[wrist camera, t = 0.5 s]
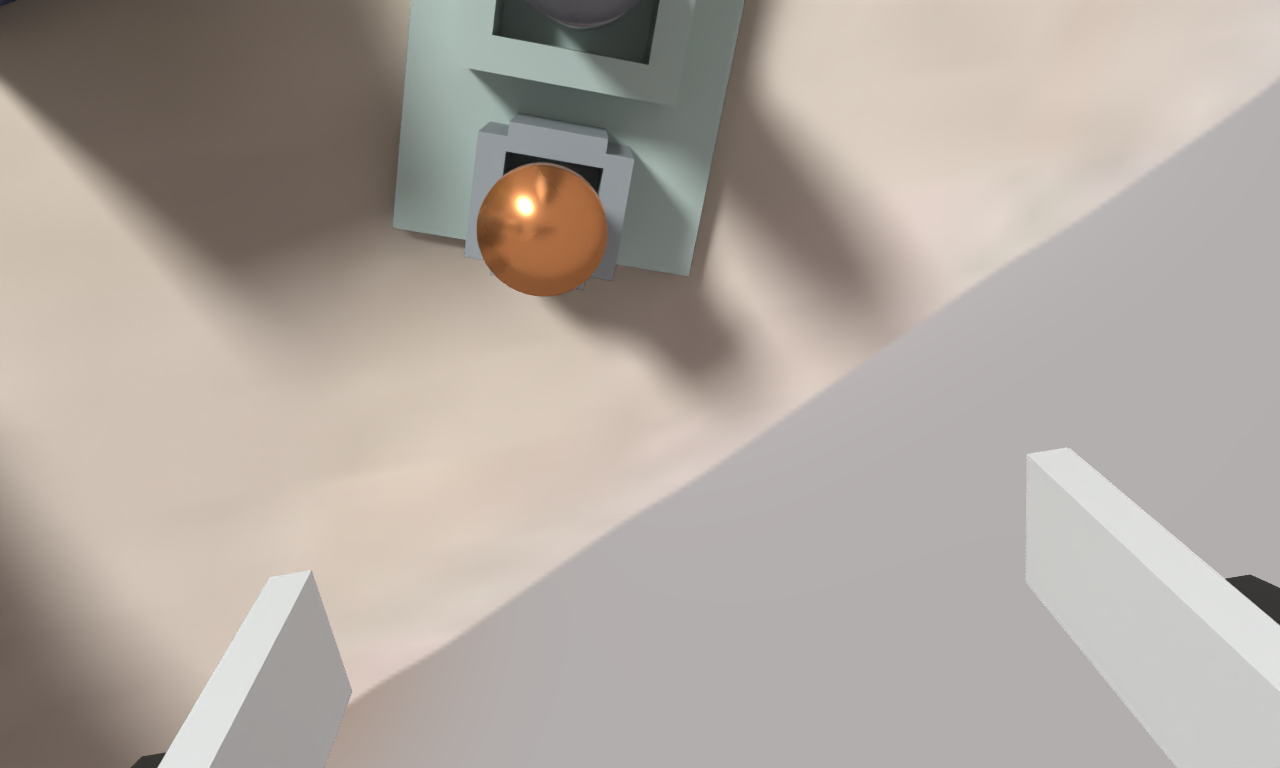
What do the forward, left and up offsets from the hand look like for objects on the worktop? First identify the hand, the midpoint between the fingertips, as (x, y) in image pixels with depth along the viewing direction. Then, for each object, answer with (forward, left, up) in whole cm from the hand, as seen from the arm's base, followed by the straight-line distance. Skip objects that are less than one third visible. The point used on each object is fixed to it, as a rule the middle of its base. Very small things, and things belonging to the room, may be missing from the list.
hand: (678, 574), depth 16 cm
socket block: (-4, +8, -23) cm, 24 cm away
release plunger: (-4, +3, -18) cm, 19 cm away
